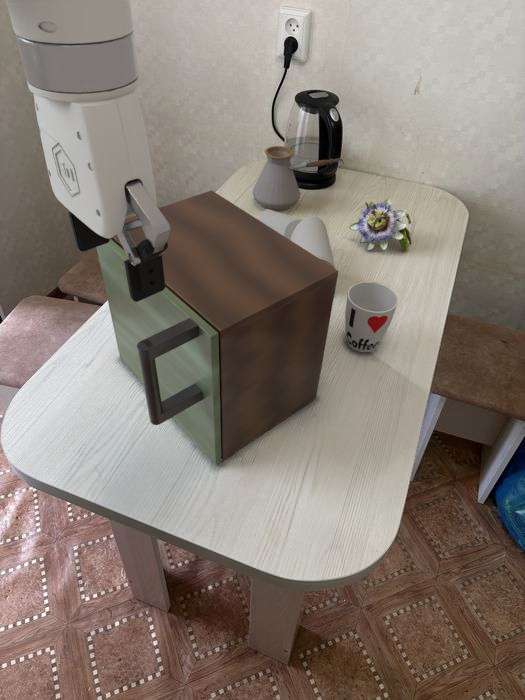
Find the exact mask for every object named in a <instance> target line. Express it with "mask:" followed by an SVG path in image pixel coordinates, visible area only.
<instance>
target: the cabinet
mask: <svg viewBox="0 0 525 700" xmlns="http://www.w3.org/2000/svg"><path fill="white" fill-rule="evenodd" d="M158 208H159V210H160V211H161V213H162V214H163V216H164V217H165V218H166V220H167V221H168V223H169V225H170V229H171V230H170V234H169V238H168V241H167V242H168V247H167V249H166V250H165V253H164V254H163V255H162V261H163V269H164V278H165V287H166V288H168V289H169V290H170V291H171V292H172V293H173V294H174V295H176V296H177V297H178V298H179V299H180V300H181V301H182V302H184V303H185V304H186V305H187V306H188V307H189V308H190V309H192V310H193V311H194V312H195V313H196V314H197V315H198V316H199V317H201V318H202V319H203V320H204V321H205V322H206V323H207V324H209V325H210V326H211V327H212V328H213V329H214V330H215V331H217V332H218V337H219V378H220V420H221V461H222V462H225V461H226V460H228V459H229V458H230V457H232V456H233V455H235V454H236V453H238V452H239V451H241V450H242V449H244V448H246V447H247V446H248V445H250V444H251V443H253V442H254V441H256V440H257V439H259V438H260V437H262V436H263V435H265V434H266V433H268V432H269V431H271V430H272V429H274V428H275V427H277V426H278V425H280V424H281V423H283V422H284V421H286V420H287V419H289V418H290V417H292V416H293V415H295V414H297V412H299V411H301V410H302V409H304V408H305V407H307V406H308V405H309V404H311V403H313V402H314V401H315V400H317V396H318V390H319V389H318V388H319V383H320V378H321V373H322V367H323V361H324V356H325V349H326V346H327V345H326V344H327V338H328V333H329V326H330V322H331V315H332V312H333V311H332V310H333V304H334V299H335V292H336V288H337V282H338V276H339V270H338V269H335V268H336V267H335V268H333V267H332V266H330V265H329V264H327V263H325V262H324V261H322V260H321V259H319V258H318V257H316V256H314V255H313V254H311V253H310V252H308V251H307V250H305V249H303V248H302V247H300V246H299V245H297V244H296V243H294V242H292V241H291V240H289V239H288V238H286V237H285V236H283V235H281V234H280V233H278V232H277V231H275V230H273V229H272V228H270V227H269V226H267V225H266V224H264V223H262V222H261V221H259V220H258V218H256V217H255V216H253V215H251V214H250V213H248V212H247V211H245V210H243V209H242V208H240V207H239V206H237V205H236V204H234V203H233V202H231V201H229V200H228V199H227V198H225V197H223V196H221V195H220V194H218V193H217V192H216V191H213V190H211V189H210V190H209V191H206V192H202V193H200V194H196V195H193V196H191V197H187V198H185V199H182V200H179V201H175V202H172V203H169V204H167V205H163V206H160V207H158ZM137 219H139V218H138V217H137V215H136V214H135V215H133V216H131V217H128V218H125V222H124V224H125V223H128V222H131V221H134V220H137ZM129 234H130V236H131V238H132V240H133V242H134V244H135V247H137V246H138V245H139V243H140V242H141V241H143V240H145V239H146V236H145V233H144V231H143V229H142V228H140V229H137V230H134V231H132V232H129ZM111 239H112V240H113V241H114V242H115V243H116V244H117V245H119V246H120V247H121V248H122V249H123V250H124V248H123V246H122V244H121V242H120V240H119V238H118V236H117V235H114V236H113V238H111Z"/></svg>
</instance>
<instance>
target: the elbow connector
mask: <svg viewBox="0 0 525 700" xmlns="http://www.w3.org/2000/svg"><path fill="white" fill-rule="evenodd" d="M257 219H258V220H259V221H261V222H262V223H264V224H266V225H267V226H269V227H270V228H272V229H273V230H275V231H277V232H278V233H280V234H281V235H283V236H285V237H286V238H288V239H289V240H291V241H292V242H294V243H296V244H297V245H299V246H300V247H302V248H303V249H305V250H307V251H308V252H310V253H311V254H313V255H314V256H316V257H318V258H319V259H321V260H322V261H324V262H325V263H327V264H329V265H330V266H332V267H333V268H335V269H336V265H335V260H334V256H333V251H332V247H331V243H330V239H329V235H328V230H327V227H326V224H325V222H324V221H323V220H322V219H321V218H320V217H318V216H316V215H309V216H306V217H304V218H300V217H297V216H293V215H289V214H286V213H283V212H276V211H273V210H270V209H264V210H263V211H262V212H261V214H260V215H259V217H258V218H257ZM336 270H337V269H336Z"/></svg>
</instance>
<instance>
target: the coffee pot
mask: <svg viewBox="0 0 525 700" xmlns="http://www.w3.org/2000/svg"><path fill="white" fill-rule="evenodd" d="M264 153H265V155H266V158H267V160H266V162H265V164H264V166H263V168H262V170H261V172H260V174H259V176H258V178H257V180H256V182H255V184H254V186H253V188H252V197H253V198H254V201H256V203H257V204H258V205H259V206H260V207H261V208H262V209H264V210H266V209H270V210H273V211H276V212H279V213H281V212H285V211H288V210H289V209H291V208H292V207H293V206H295V205H296V204H297V202H299V200H300V198H301V191H300V188H299V185H298V182H297V179H296V176H295V174H294V170H299V169H304V168H315V167H316V168H317V167H323V166H326V165H333V164H334V163H337V164H338V168H339V169H343V168H344V167H345V166H344V165H345V161H344V160H343V159H342V158H341V157H340V158H335V159H334V158H332V157H331V158H329V159H320V160H315V161H311V162H306V163H301V164H300V163H299V164H291V162H290V161H291V158H292V157H293V155H294V151H293V150H292V149H291V148H288V147H287V146H282V145H273V146H269V147H267V148H266V149H265V150H264ZM341 162H342V166H340V163H341Z"/></svg>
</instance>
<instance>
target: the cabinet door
mask: <svg viewBox="0 0 525 700" xmlns="http://www.w3.org/2000/svg"><path fill="white" fill-rule="evenodd" d="M95 248H96V252H97V253H96V254H97V257H98V261H99V266H100V270H101V276H102V281H103V284H104V290H105V294H106V298H107V304H108V309H109V313H110V317H111V322H112V327H113V331H114V336H115V340H116V345H117V348H118V349H117V350H118V355H119V360H120V361H121V362H122V363H123V364H124V365H125V367H127V369H128V370H129V371H130V372H131V373H132V374H133V375H134V377H135V378H136V379H137V380H138V381H139V382H140V383H141V384H142V385H143V390H144V395H145V400H146V406H147V413H148V417H149V422H150V424H151V425H154V426H159V425H161V424H163V423H165V422H167V421H168V420H171V418H172V419H174V421H175V422H176V423H177V424H178V425H179V426H180V427H181V429H182V430H183V431H184V432H185V433H186V434H187V435H188V436H189V438H190V439H191V440H192V441H193V442H194V443H195V444H196V445H197V446H198V448H199V449H200V450H201V451H202V452H203V453H204V454H205V456H207V458H208V459H209V460H210V461H211V462H212V463H213V464H214V466H217V465H219V464H221V463H222V462H223V460H222V459H221V420H220V378H219V337H218V332H217V331H215V330H214V329H213V328H212V327H211V326H210V325H209V324H207V323H206V322H205V321H204V320H203V319H202V318H201V317H199V316H198V315H197V314H196V313H195V312H194V311H193V310H192V309H190V308H189V307H188V306H187V305H186V304H185V303H184V302H182V301H181V300H180V299H179V298H178V297H177V296H176V295H174V294H173V293H172V292H171V291H170V290H169V289H168V288H166V287H165V289H164V290H163V291H161V292H158V293H156V294H154V295H152V296H149V297H147V298H145V299H143V300H140V301H138V302H135V301H134V300H133V299H131V297H130V292H129V287H128V281H127V276H126V270H125V264H124V261H126V260H128V257H127V255H126V253H125V251H124V250H123V249H122V248H121V247H120V246H119V245H117V244H116V243H115V242H114V241H113V240H112V239H111V238H110V241H109V242H108V243H106V244H103V245H100V246H98V247H95Z"/></svg>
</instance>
